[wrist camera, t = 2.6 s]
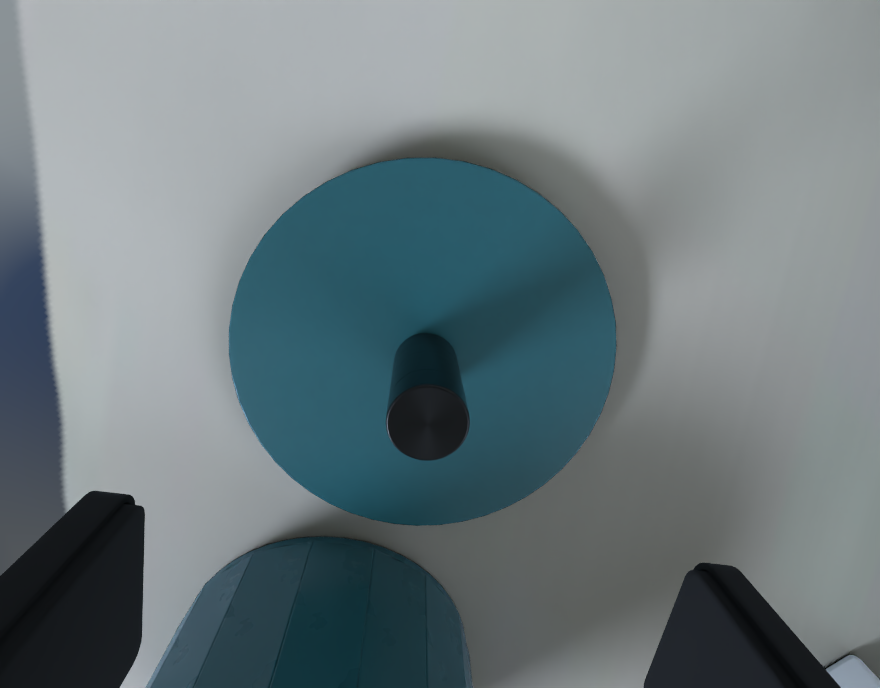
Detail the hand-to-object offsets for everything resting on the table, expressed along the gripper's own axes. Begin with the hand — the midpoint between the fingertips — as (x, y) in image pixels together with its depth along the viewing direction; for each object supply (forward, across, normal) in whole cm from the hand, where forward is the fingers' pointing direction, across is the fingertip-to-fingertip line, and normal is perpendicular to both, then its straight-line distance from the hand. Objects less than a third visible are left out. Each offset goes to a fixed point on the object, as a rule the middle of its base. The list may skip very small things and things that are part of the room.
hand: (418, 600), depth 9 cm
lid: (+12, 0, 0) cm, 12 cm away
